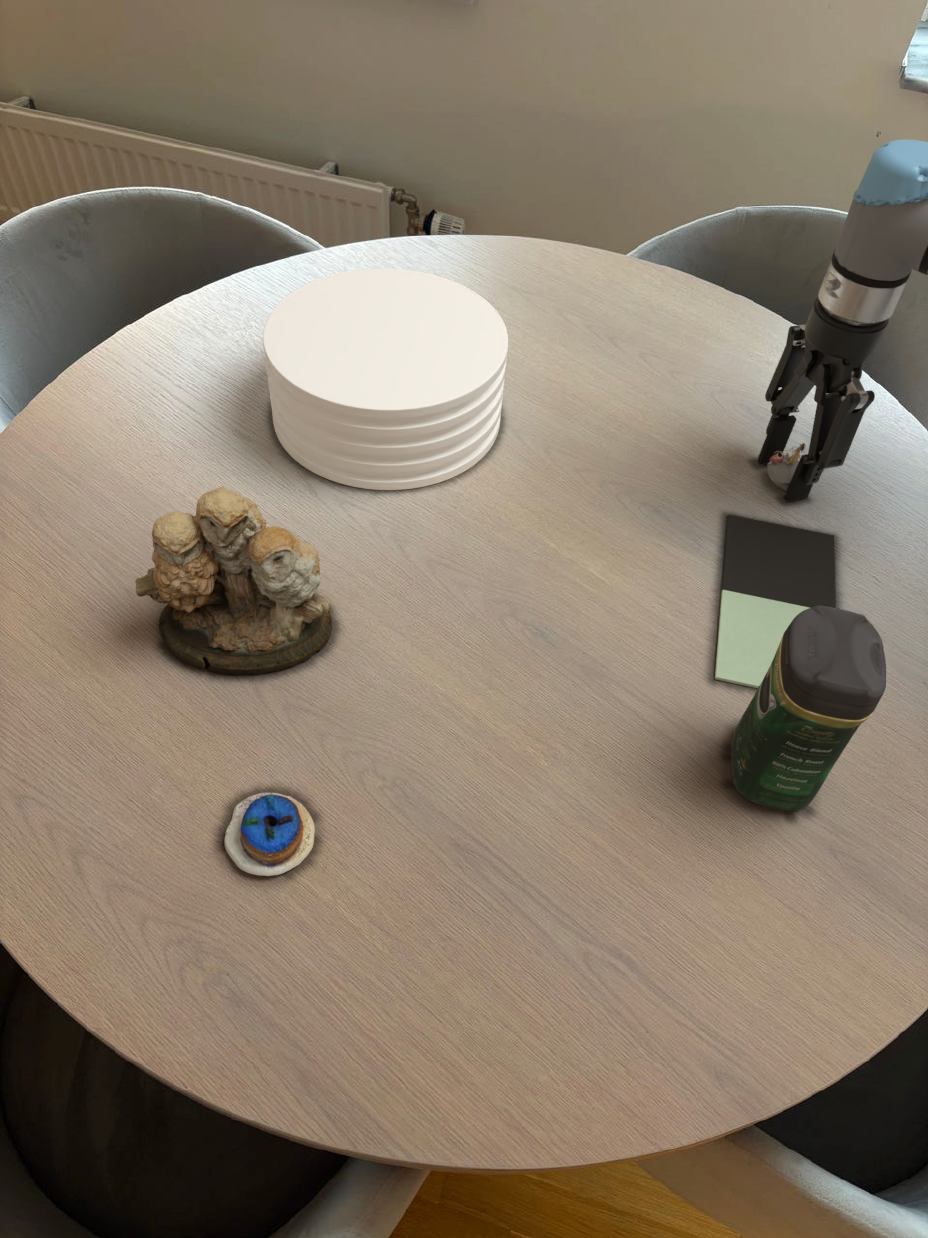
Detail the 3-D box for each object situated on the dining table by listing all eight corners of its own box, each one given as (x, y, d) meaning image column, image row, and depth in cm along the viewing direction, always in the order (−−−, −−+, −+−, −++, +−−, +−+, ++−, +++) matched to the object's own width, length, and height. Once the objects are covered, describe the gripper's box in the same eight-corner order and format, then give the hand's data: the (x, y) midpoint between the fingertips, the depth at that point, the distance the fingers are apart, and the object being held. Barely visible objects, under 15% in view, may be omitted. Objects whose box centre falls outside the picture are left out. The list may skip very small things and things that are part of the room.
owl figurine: (142, 678, 90) (98, 554, 77) (159, 585, 98) (122, 458, 85) (332, 674, 92) (322, 552, 79) (335, 583, 99) (325, 458, 86)
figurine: (790, 500, 112) (807, 461, 107) (755, 485, 113) (771, 446, 108) (806, 476, 114) (823, 437, 110) (771, 461, 116) (787, 422, 111)
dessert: (325, 864, 78) (277, 841, 74) (265, 899, 80) (215, 879, 76) (313, 784, 84) (267, 759, 80) (257, 819, 86) (209, 796, 81)
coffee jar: (815, 823, 84) (900, 703, 70) (726, 802, 85) (792, 681, 71) (813, 734, 90) (892, 607, 76) (730, 716, 91) (792, 587, 77)
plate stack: (459, 334, 129) (463, 256, 121) (532, 466, 113) (544, 387, 104) (253, 364, 123) (242, 283, 114) (299, 509, 106) (291, 428, 97)
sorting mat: (837, 706, 93) (838, 703, 92) (714, 679, 94) (715, 676, 94) (832, 537, 108) (834, 535, 108) (727, 516, 109) (728, 514, 109)
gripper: (775, 261, 101) (718, 433, 118) (872, 366, 89) (792, 539, 107) (836, 254, 102) (771, 425, 120) (939, 357, 91) (850, 528, 109)
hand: (781, 479), depth 113 cm, fingers open, 6 cm apart
